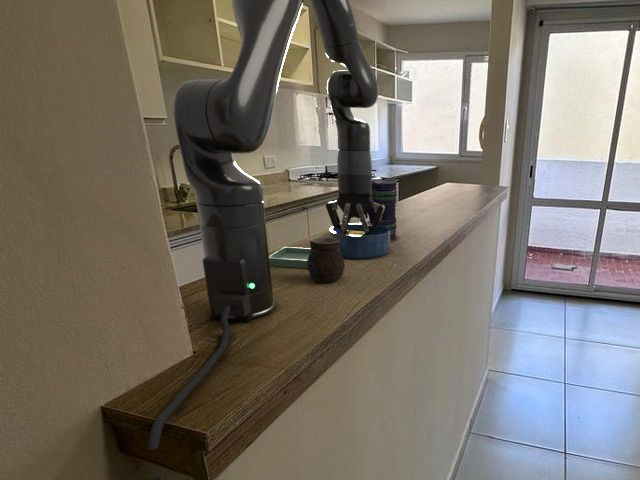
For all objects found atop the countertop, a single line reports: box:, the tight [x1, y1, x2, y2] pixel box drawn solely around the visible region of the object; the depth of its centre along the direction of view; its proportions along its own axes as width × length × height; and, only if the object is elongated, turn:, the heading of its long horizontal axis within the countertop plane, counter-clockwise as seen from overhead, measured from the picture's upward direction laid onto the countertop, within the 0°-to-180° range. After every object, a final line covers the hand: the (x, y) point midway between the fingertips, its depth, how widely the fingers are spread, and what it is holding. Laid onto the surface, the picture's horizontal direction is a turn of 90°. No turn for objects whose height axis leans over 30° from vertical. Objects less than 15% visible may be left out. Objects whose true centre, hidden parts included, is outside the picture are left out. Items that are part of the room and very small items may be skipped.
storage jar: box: [368, 169, 398, 242], centre depth 119 cm, size 10×10×18 cm
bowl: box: [329, 222, 391, 260], centre depth 107 cm, size 14×14×6 cm
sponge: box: [346, 231, 364, 236], centre depth 105 cm, size 5×4×4 cm
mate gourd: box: [307, 229, 346, 283], centre depth 86 cm, size 7×8×10 cm
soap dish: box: [269, 246, 311, 269], centre depth 99 cm, size 10×11×2 cm
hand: (356, 246), depth 106 cm, fingers closed on sponge, 4 cm apart
